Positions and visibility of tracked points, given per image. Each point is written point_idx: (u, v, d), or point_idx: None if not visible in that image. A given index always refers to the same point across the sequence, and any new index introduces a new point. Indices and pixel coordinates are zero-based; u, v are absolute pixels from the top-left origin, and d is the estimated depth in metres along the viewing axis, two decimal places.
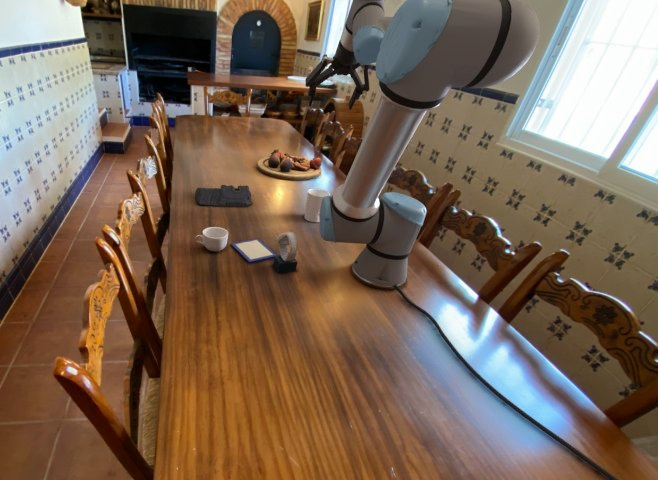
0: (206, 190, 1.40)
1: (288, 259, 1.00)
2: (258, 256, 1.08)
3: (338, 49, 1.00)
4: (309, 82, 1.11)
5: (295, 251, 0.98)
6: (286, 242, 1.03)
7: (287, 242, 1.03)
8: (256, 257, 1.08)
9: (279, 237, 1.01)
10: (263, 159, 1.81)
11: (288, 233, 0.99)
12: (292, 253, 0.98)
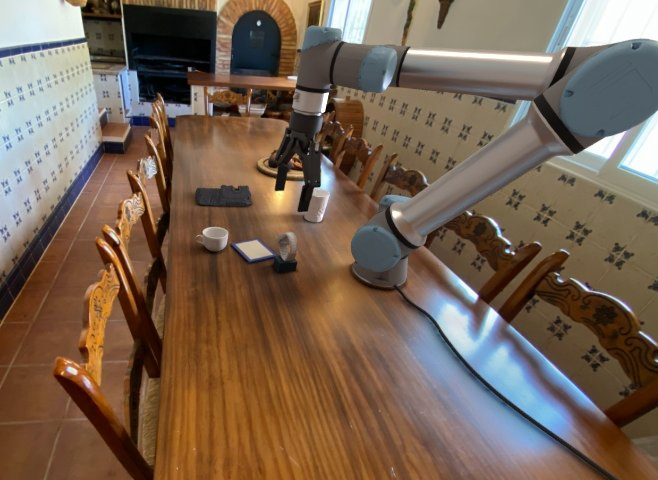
0: (206, 190, 1.40)
1: (288, 259, 1.00)
2: (258, 256, 1.08)
3: (317, 122, 0.81)
4: None
5: (295, 251, 0.98)
6: (286, 242, 1.03)
7: (287, 242, 1.03)
8: (256, 257, 1.08)
9: (279, 237, 1.01)
10: (263, 159, 1.81)
11: (288, 233, 0.99)
12: (292, 253, 0.98)
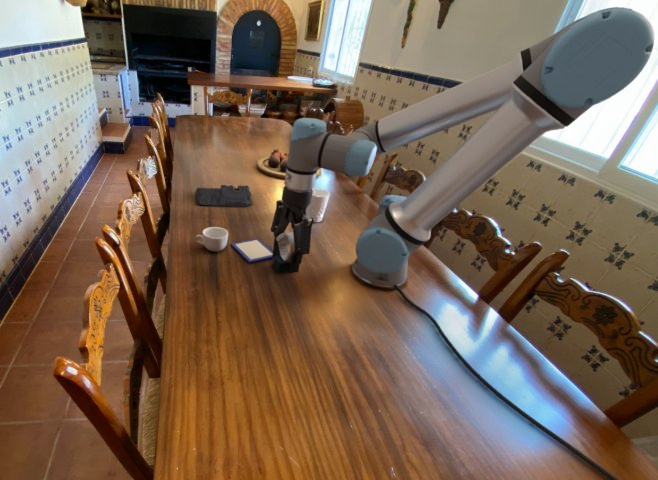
0: (206, 190, 1.40)
1: (288, 259, 1.00)
2: (258, 256, 1.08)
3: (308, 197, 0.89)
4: None
5: None
6: (286, 242, 1.03)
7: (287, 242, 1.03)
8: (256, 257, 1.08)
9: (279, 237, 1.01)
10: (263, 159, 1.81)
11: (288, 233, 0.99)
12: (292, 252, 0.98)
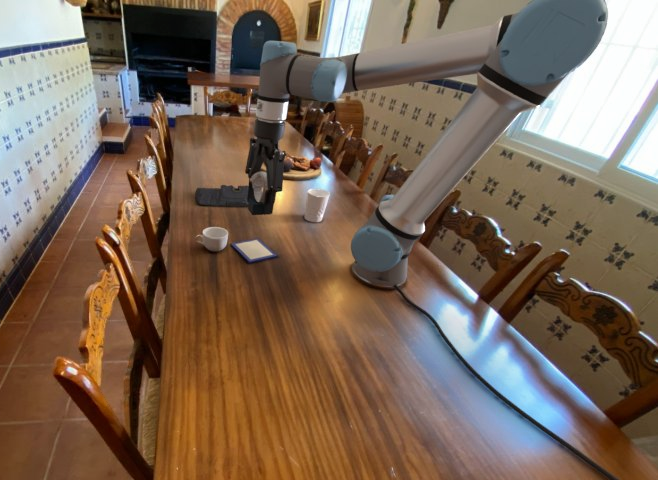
0: (206, 190, 1.40)
1: (262, 200, 0.98)
2: (258, 256, 1.08)
3: (280, 129, 0.87)
4: None
5: None
6: (260, 183, 1.00)
7: (261, 184, 1.00)
8: (256, 257, 1.08)
9: (253, 177, 0.98)
10: None
11: (262, 172, 0.96)
12: None
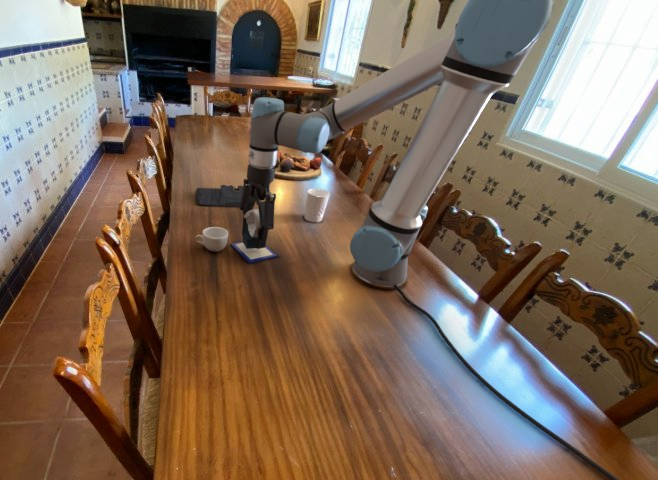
0: (206, 190, 1.40)
1: (255, 235, 1.05)
2: (258, 256, 1.08)
3: (271, 174, 0.94)
4: None
5: None
6: (254, 219, 1.08)
7: (255, 219, 1.08)
8: (256, 257, 1.08)
9: (247, 214, 1.06)
10: None
11: (255, 210, 1.04)
12: None
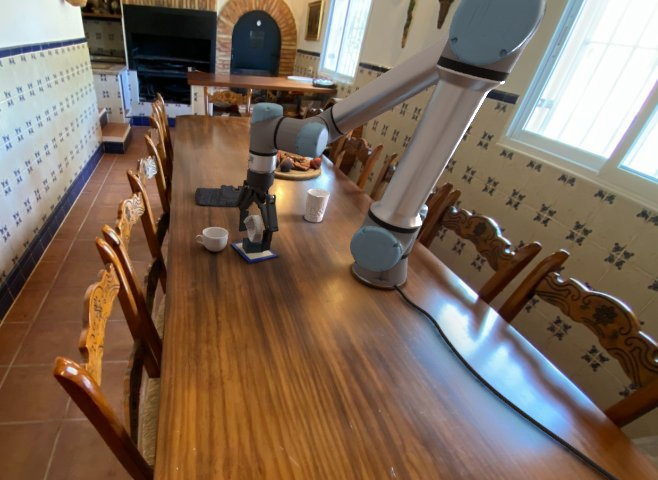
0: (206, 190, 1.40)
1: (254, 240, 1.06)
2: (258, 256, 1.08)
3: (270, 178, 0.95)
4: None
5: (260, 232, 1.04)
6: (253, 225, 1.09)
7: (254, 225, 1.09)
8: (256, 257, 1.08)
9: (246, 220, 1.07)
10: None
11: (254, 216, 1.05)
12: (258, 234, 1.04)
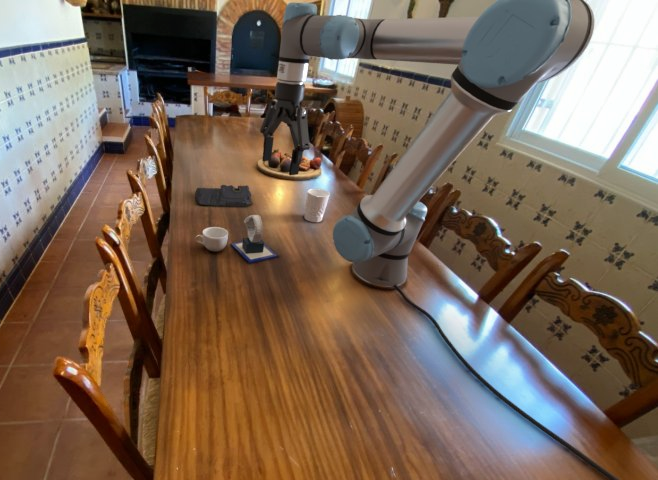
0: (206, 190, 1.40)
1: (254, 240, 1.06)
2: (258, 256, 1.08)
3: (301, 91, 0.90)
4: None
5: (260, 232, 1.04)
6: (253, 225, 1.09)
7: (254, 225, 1.09)
8: (256, 257, 1.08)
9: (246, 220, 1.07)
10: None
11: (254, 216, 1.05)
12: (258, 234, 1.04)
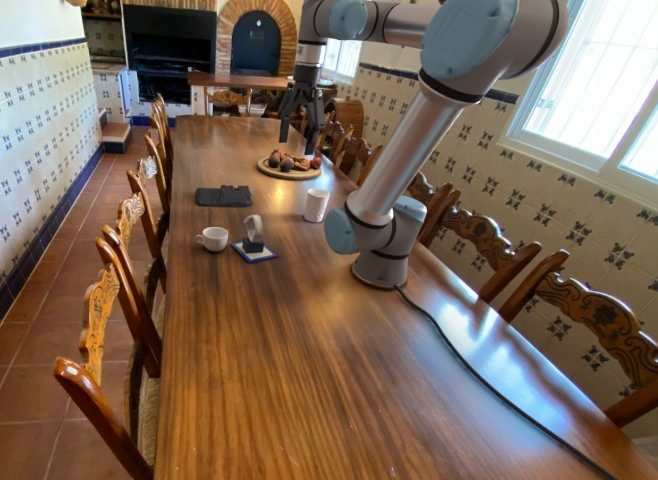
0: (206, 190, 1.40)
1: (254, 240, 1.06)
2: (258, 256, 1.08)
3: (318, 72, 0.95)
4: None
5: (260, 232, 1.04)
6: (253, 225, 1.09)
7: (254, 225, 1.09)
8: (256, 257, 1.08)
9: (246, 220, 1.07)
10: (263, 159, 1.81)
11: (254, 216, 1.05)
12: (258, 234, 1.04)
